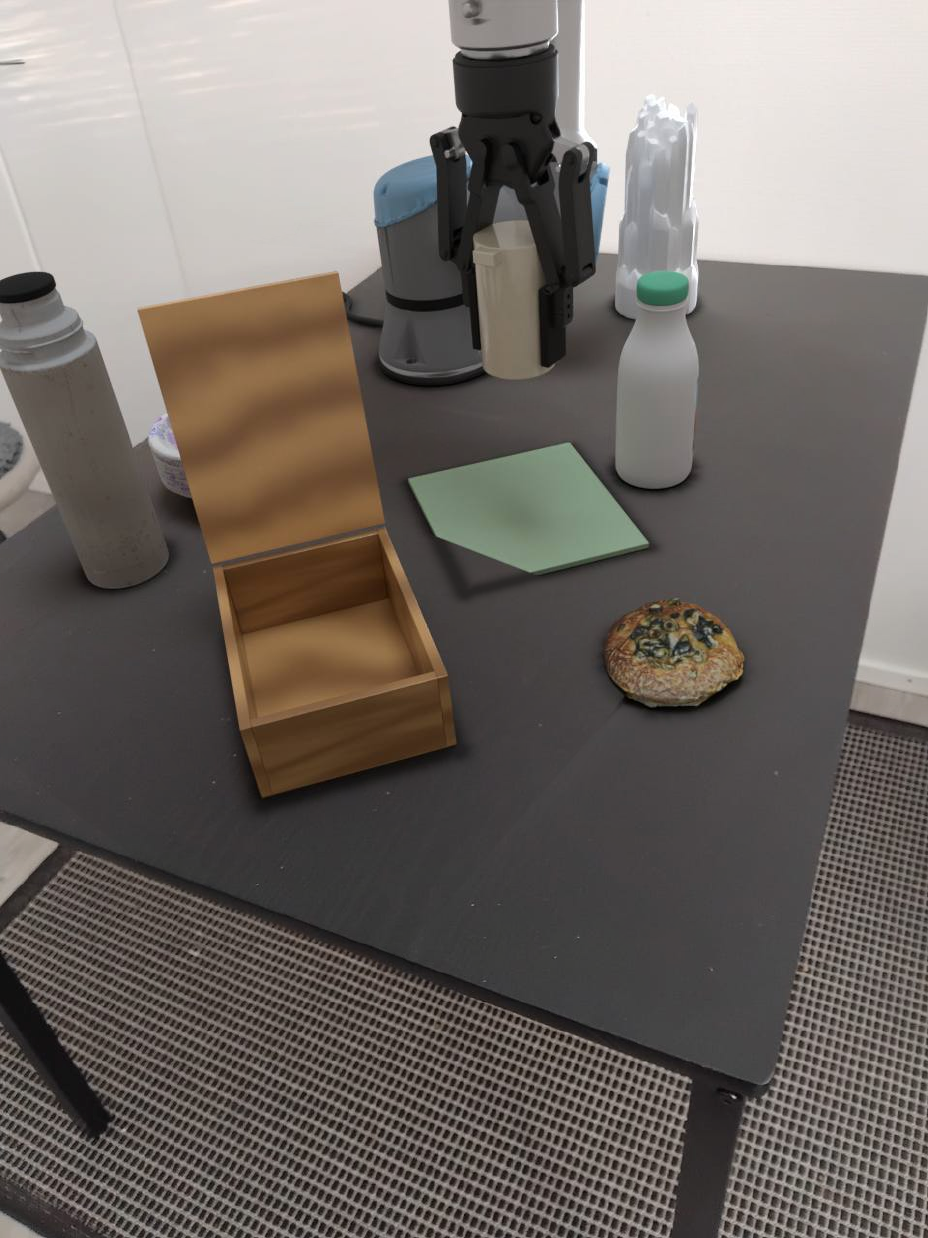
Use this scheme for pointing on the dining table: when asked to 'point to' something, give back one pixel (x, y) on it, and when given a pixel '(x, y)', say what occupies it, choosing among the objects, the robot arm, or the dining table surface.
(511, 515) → the mat
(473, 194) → the robot arm
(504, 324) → the jug
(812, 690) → the dining table surface
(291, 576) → the chest
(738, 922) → the dining table surface
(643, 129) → the decorative vase
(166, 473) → the paper bowls
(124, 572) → the thermos bottle
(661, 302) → the milk bottle
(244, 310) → the chest lid
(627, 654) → the bread roll
